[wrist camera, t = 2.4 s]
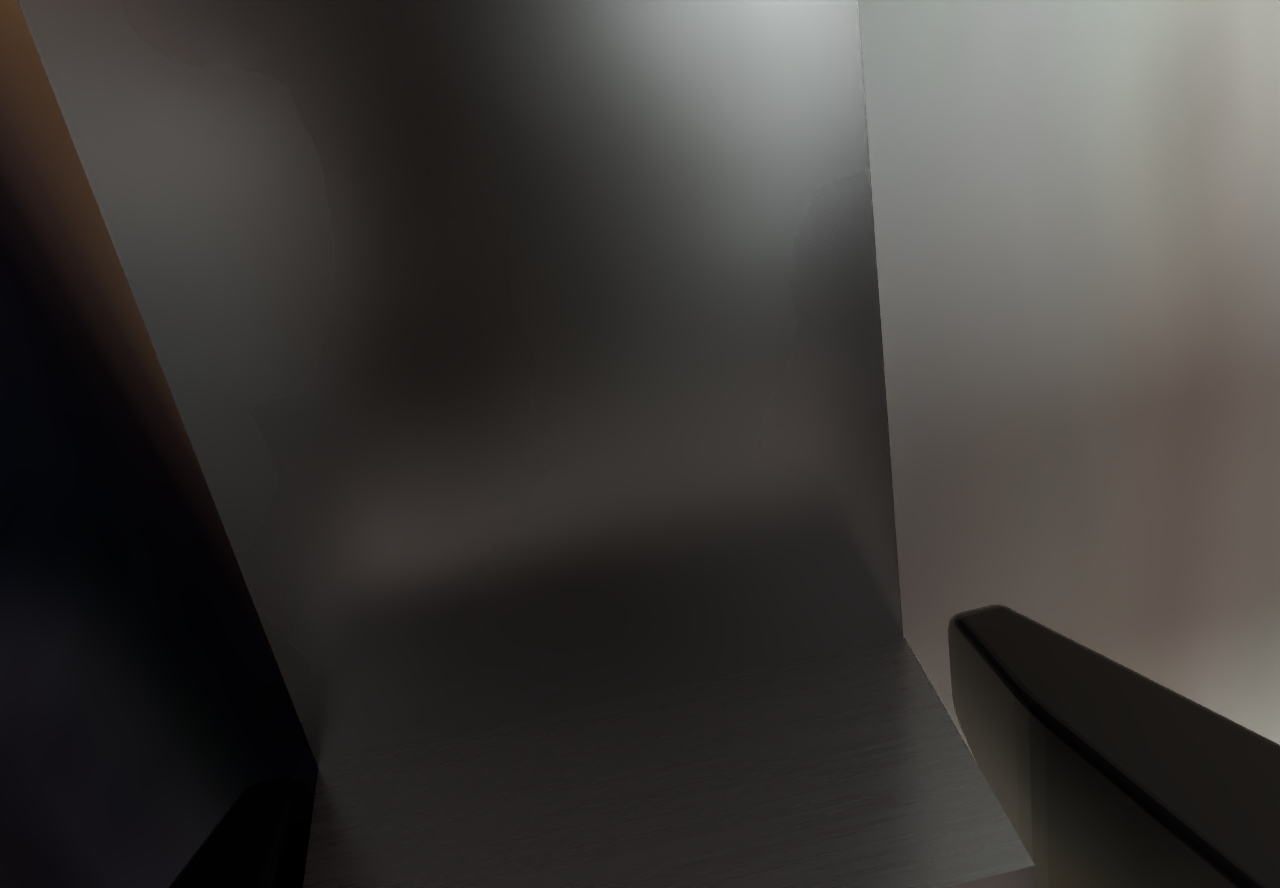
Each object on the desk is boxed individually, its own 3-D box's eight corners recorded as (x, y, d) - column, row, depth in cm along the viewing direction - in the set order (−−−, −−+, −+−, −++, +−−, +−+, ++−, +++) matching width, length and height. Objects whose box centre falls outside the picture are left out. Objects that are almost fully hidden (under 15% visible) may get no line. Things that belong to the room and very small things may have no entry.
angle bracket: (856, 665, 11) (1037, 1026, 8) (380, 776, 11) (355, 1195, 8) (777, -167, 8) (1030, -164, 4) (89, -35, 8) (-189, 73, 4)
